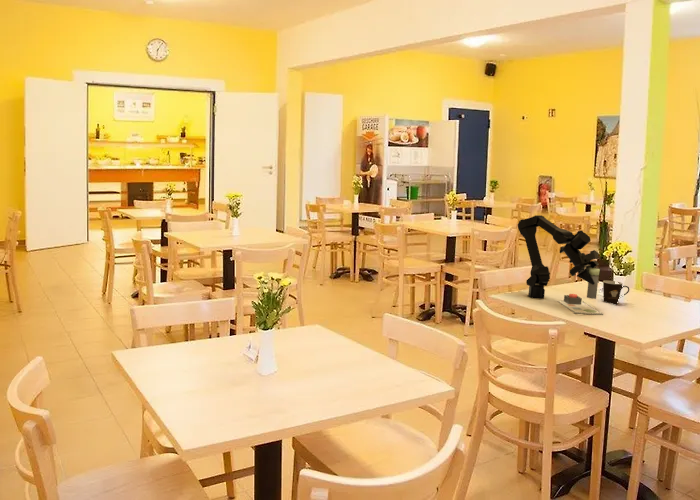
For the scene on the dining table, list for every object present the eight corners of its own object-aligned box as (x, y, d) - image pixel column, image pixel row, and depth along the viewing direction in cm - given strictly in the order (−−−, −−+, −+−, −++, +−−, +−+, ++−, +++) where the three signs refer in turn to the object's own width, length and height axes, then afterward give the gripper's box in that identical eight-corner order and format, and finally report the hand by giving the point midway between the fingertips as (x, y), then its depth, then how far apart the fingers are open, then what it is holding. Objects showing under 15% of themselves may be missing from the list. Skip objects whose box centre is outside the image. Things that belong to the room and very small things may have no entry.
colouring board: (574, 314, 312) (574, 312, 311) (556, 302, 334) (556, 300, 334) (603, 315, 313) (603, 313, 312) (582, 303, 335) (583, 301, 335)
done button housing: (568, 304, 328) (569, 297, 328) (563, 301, 334) (564, 295, 333) (581, 304, 328) (581, 298, 328) (576, 301, 334) (576, 295, 334)
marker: (588, 298, 313) (591, 269, 311) (584, 296, 317) (587, 267, 315) (598, 298, 313) (601, 269, 311) (594, 296, 317) (597, 268, 315)
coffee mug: (599, 303, 336) (601, 282, 335) (602, 300, 344) (604, 279, 342) (625, 307, 331) (628, 286, 329) (628, 303, 338) (630, 283, 337)
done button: (570, 299, 329) (570, 295, 329) (567, 297, 332) (568, 293, 332) (578, 299, 329) (578, 295, 329) (575, 298, 333) (575, 293, 332)
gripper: (579, 246, 307) (601, 275, 302) (597, 242, 321) (618, 270, 316) (560, 261, 314) (581, 290, 308) (578, 257, 327) (599, 285, 322)
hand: (595, 283), depth 313 cm, fingers closed on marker, 4 cm apart
